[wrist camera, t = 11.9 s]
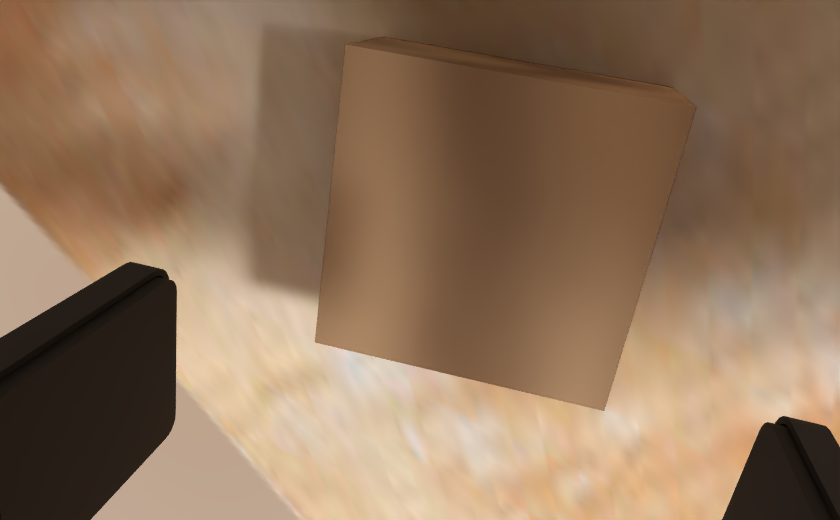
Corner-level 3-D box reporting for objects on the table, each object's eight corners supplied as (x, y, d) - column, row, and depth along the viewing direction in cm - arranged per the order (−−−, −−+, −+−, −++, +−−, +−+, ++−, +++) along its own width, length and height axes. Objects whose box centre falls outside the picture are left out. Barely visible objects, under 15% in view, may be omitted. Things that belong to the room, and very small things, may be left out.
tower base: (672, 87, 20) (696, 106, 17) (597, 347, 24) (604, 410, 20) (382, 37, 21) (345, 44, 18) (351, 291, 25) (315, 342, 21)
